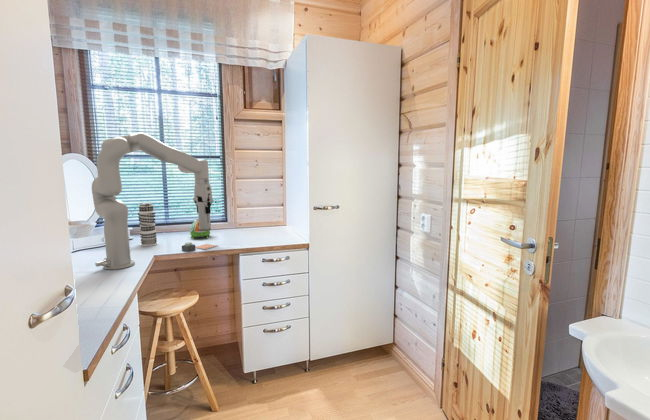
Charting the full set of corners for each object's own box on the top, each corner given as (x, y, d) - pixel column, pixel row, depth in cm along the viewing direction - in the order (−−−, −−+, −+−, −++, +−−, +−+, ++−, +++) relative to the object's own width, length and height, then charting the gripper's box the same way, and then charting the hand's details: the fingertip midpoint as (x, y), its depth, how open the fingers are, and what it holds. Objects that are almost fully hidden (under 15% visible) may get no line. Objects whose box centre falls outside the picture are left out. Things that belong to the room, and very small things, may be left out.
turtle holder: (208, 233, 233) (207, 216, 231) (211, 238, 216) (210, 220, 215) (189, 235, 227) (187, 217, 226) (191, 240, 211) (190, 221, 209)
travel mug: (198, 229, 195) (196, 195, 192) (210, 228, 197) (208, 194, 194) (198, 231, 189) (196, 196, 186) (211, 230, 191) (209, 195, 188)
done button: (188, 247, 184) (187, 244, 183) (183, 246, 186) (183, 243, 185) (193, 246, 187) (193, 242, 187) (189, 245, 189) (188, 242, 188)
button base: (188, 252, 183) (187, 246, 183) (182, 250, 186) (181, 245, 185) (195, 250, 187) (195, 244, 187) (189, 248, 190) (189, 243, 189)
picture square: (204, 249, 187) (204, 249, 187) (192, 247, 192) (192, 247, 192) (218, 246, 196) (218, 245, 196) (206, 244, 201) (206, 243, 201)
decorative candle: (150, 246, 196) (147, 204, 192) (136, 246, 197) (133, 204, 194) (161, 243, 204) (158, 202, 201) (147, 242, 206) (144, 202, 203)
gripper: (218, 181, 188) (219, 213, 190) (197, 181, 196) (198, 211, 199) (207, 182, 181) (209, 215, 184) (186, 181, 190) (188, 213, 192)
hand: (203, 212), depth 191 cm, fingers closed on travel mug, 6 cm apart
